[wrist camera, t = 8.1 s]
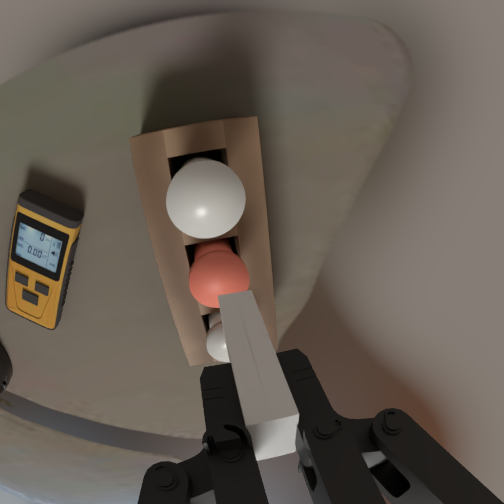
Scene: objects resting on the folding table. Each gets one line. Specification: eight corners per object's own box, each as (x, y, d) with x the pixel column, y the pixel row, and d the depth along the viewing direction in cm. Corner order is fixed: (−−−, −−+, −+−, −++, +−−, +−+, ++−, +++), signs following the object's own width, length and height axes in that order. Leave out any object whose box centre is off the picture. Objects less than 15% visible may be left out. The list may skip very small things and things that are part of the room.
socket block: (187, 331, 36) (190, 366, 31) (140, 133, 25) (129, 138, 20) (264, 316, 38) (277, 347, 33) (243, 116, 27) (257, 116, 22)
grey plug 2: (205, 320, 35) (211, 365, 28) (196, 287, 33) (201, 331, 26) (244, 312, 36) (258, 356, 29) (239, 279, 33) (253, 320, 27)
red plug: (192, 269, 31) (196, 312, 24) (183, 226, 29) (183, 262, 22) (237, 260, 32) (252, 301, 25) (231, 217, 29) (246, 250, 23)
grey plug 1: (177, 209, 25) (174, 244, 18) (167, 154, 23) (159, 170, 16) (232, 199, 26) (249, 230, 19) (224, 144, 24) (240, 156, 17)
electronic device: (11, 295, 30) (1, 310, 27) (27, 185, 25) (13, 194, 22) (63, 320, 33) (55, 336, 30) (89, 213, 28) (79, 224, 25)
